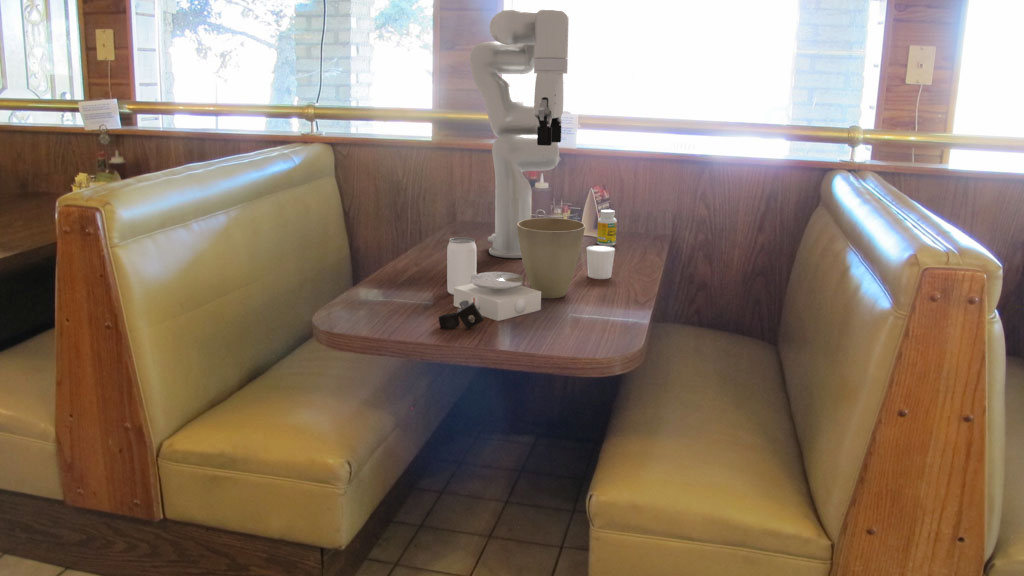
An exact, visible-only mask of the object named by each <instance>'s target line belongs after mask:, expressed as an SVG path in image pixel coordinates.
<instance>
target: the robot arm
mask: <svg viewBox="0 0 1024 576" xmlns="http://www.w3.org/2000/svg"><path fill="white" fill-rule="evenodd" d="M569 20H570V18H569V13H568V12H567V11H566V10H565V9H559V8H543V9H539V10H537V9H536V10H534V9H533V10H531V9H505V10H501V11H500V12H498V13H496V14H495V15H494V16H493V17H492V18H491V20H490V22H489V33H490V35H491V37H492V39H494V41H484V42H481V43H477V44H475V45H474V46H473V47H472V49H471V51H470V53H469V66H470V72H471V76H472V79H473V82H474V84H475V87H476V88H477V90H478V91H479V93H480V95H481V97H482V99H483V102H484V106H485V109H486V114H487V116H488V118H487V119H488V121H489V124H490V128H491V130H492V133H493V135H495V136H496V137H497V138H496V139H495V140H494V141H493V143H492V147H491V153H492V154H491V155H492V160H493V167H494V179H495V183H494V184H495V192H494V193H495V201H494V202H495V203H494V205H495V207H494V208H495V213H494V214H495V216H494V217H495V218H494V220H495V221H494V226H495V227H494V233H492V234H491V235H490V236H488V237H487V242H490V243H491V242H492V246H491V247H489V249H488V253H489V254H490V255H491V256H493V257H497V258H503V259H522V255H521V250H520V244H519V237H518V229H517V223H518V222H519V221H522V220H526V219H532V186H531V183H530V181H529V180H528V179H527V178H526V176H524V174H523V172H531V171H532V172H533V171H550V170H553V169H554V168H556V167H557V166H558V164H559V160H560V148H559V143H561V142H562V118H561V117H562V116H563V113H564V74H568V67H569V66H568V64H569V63H568V61H569V59H568V57H569V56H568V55H569ZM533 70H534V71H533ZM532 71H533V73H534V74H536V76H535V84H534V85H535V86H534V97H533V98H534V101H532V102H530V101H529V102H523V101H522V102H520V101H519V100H517V98H516V93H515V91H514V88H513V87H512V86H511V85H510V84H509V82H507V80H505V79H504V78H502V77H501V76H500V75H525V74H529V73H530V72H532Z"/></svg>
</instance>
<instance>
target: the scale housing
mask: <svg viewBox="0 0 1024 576" xmlns="http://www.w3.org/2000/svg"><path fill="white" fill-rule="evenodd" d="M463 300H465V301H466V300H467V301H469V304H470V303H471V302H472V303H474V304H475V306H476V308H477V309H478V311H479V312H480V314H481V315H482V316H483V317H485V318H488V319H491V320H494V321H496V322H499V321H503V320H507V319H511V318H515V317H519V316H522V315H528V314H531V313H534V312H539V311H541V309H542V298H541V291H538V290H534V289H531V287H528V286H523V285H521V286H518V287H515V288H508V289H488V288H482V287H477V286H475V285H473V284H468V285H463V286H459V287H454V295H453V306H454V307H456V308H458V309H461V306H460V305H459V303H460V302H462V301H463Z"/></svg>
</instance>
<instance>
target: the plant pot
mask: <svg viewBox="0 0 1024 576" xmlns="http://www.w3.org/2000/svg"><path fill="white" fill-rule="evenodd" d="M517 229H518V237H519V244H520V250H521V255H522V258H521V259H522V263H523V267H524V272H525V274H526V277H527V281H528V285H529V288H531V289H534V290H538V291H541V299H559V298H562V297H565V296H566V294H567V292H568V290H569V288H570V285H571V282H572V280H573V277H574V274H575V271H576V268H577V264H578V262H579V258H580V255H581V250H582V246H583V240H584V235H585V230H586V224H585V223H584V222H581V221H579V220H576V219H569V218H561V217H536V218H535V217H534V218H533V217H531V219H526V220H522V221H519V222H518V223H517Z"/></svg>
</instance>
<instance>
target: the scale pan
mask: <svg viewBox="0 0 1024 576" xmlns="http://www.w3.org/2000/svg"><path fill="white" fill-rule="evenodd" d="M524 279H525V278H524V277H523V276H522V275H521V274H517V273H513V272H506V271H486V272H480V273H476V275H473V276H472V277H471V283H472V284H473V285H475V286H477V287H482V288H488V289H508V288H515V287H518V286H523V284H524V283H525V282H524Z"/></svg>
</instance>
